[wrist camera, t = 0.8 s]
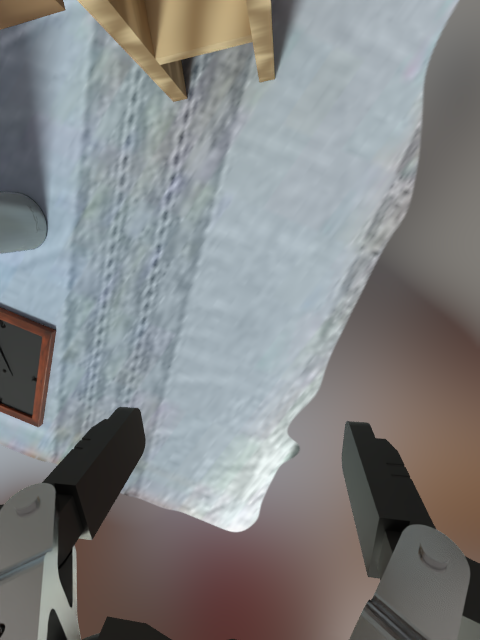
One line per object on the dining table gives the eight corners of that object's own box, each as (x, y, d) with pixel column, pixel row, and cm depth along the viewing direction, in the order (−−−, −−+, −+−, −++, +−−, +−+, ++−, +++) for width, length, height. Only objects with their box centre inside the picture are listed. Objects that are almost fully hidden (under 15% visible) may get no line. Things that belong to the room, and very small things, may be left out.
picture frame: (-37, 289, 56) (-37, 388, 65) (-48, 292, 54) (-47, 393, 63) (58, 329, 56) (44, 422, 65) (50, 333, 54) (37, 428, 63)
